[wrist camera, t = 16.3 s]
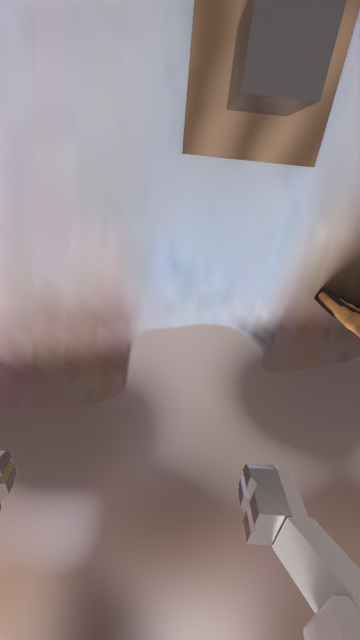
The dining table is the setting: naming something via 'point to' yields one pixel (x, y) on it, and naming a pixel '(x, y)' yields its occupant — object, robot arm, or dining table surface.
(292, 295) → the dining table surface
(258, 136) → the base plate
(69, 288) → the dining table surface
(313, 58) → the grey square block
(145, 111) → the dining table surface
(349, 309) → the brown slatted box
